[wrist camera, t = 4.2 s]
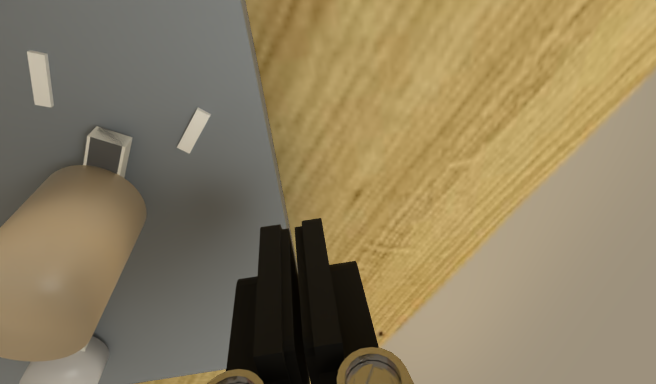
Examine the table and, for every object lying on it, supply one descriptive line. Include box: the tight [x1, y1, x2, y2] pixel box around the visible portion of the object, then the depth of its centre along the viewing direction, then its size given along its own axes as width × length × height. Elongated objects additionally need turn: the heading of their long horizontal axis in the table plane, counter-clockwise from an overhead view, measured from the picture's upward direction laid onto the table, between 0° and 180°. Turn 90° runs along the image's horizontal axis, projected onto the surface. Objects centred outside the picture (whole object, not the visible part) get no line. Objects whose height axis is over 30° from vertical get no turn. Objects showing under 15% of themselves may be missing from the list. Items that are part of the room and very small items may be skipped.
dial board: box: [0, 0, 298, 384], centre depth 17 cm, size 24×22×2 cm
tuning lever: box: [0, 126, 147, 384], centre depth 15 cm, size 15×4×6 cm, turn 156°
